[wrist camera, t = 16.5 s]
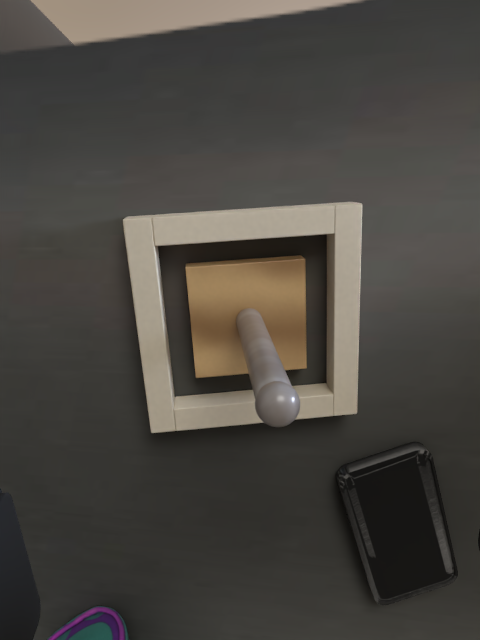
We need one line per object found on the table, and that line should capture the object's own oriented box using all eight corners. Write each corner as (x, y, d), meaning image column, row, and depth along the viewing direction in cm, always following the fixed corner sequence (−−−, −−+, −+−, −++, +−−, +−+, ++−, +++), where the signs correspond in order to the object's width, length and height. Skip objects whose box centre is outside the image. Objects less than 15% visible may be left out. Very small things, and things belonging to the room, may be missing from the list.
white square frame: (126, 216, 30) (122, 219, 28) (352, 201, 31) (362, 203, 29) (153, 419, 35) (151, 433, 33) (348, 401, 36) (357, 414, 34)
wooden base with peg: (185, 263, 32) (176, 333, 18) (300, 254, 32) (377, 317, 18) (196, 369, 34) (194, 503, 20) (302, 360, 35) (371, 485, 21)
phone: (430, 445, 36) (460, 581, 41) (423, 438, 37) (453, 571, 42) (335, 477, 36) (376, 608, 41) (331, 468, 38) (371, 597, 42)
